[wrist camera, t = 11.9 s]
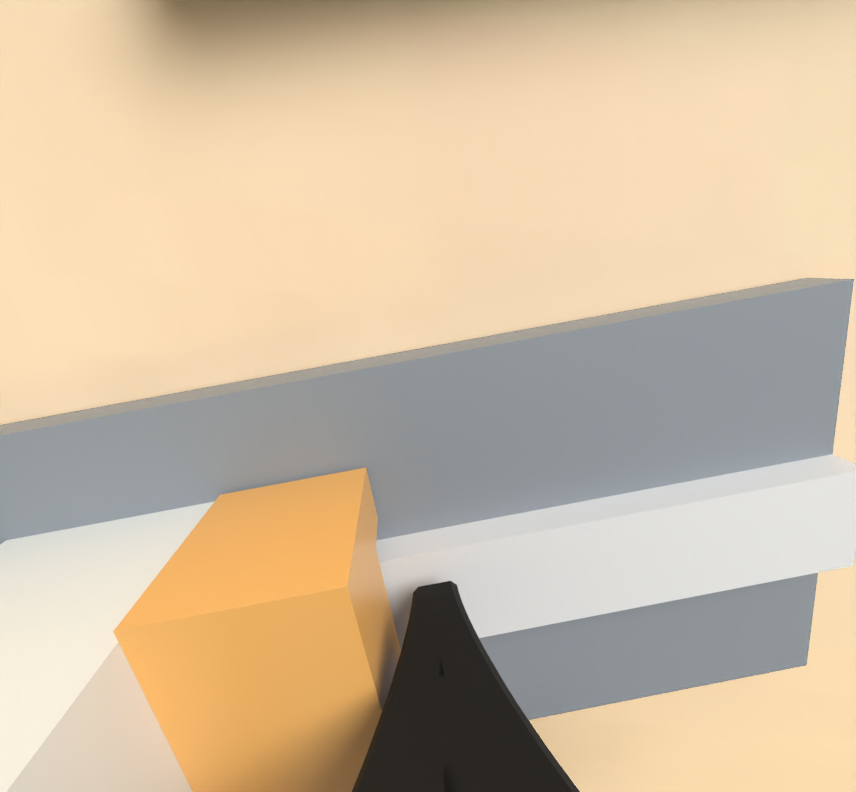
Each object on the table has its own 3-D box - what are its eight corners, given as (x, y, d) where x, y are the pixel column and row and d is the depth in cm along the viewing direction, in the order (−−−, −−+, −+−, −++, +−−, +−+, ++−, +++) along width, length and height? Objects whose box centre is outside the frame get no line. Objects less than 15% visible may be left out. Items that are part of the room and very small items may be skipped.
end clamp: (417, 685, 10) (426, 873, 7) (296, 709, 10) (251, 909, 7) (366, 467, 9) (347, 586, 5) (220, 494, 9) (113, 630, 5)
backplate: (774, 634, 12) (915, 771, 9) (-63, 797, 12) (-242, 1004, 9) (806, 278, 9) (1035, 284, 6) (-304, 480, 9) (-724, 607, 6)
